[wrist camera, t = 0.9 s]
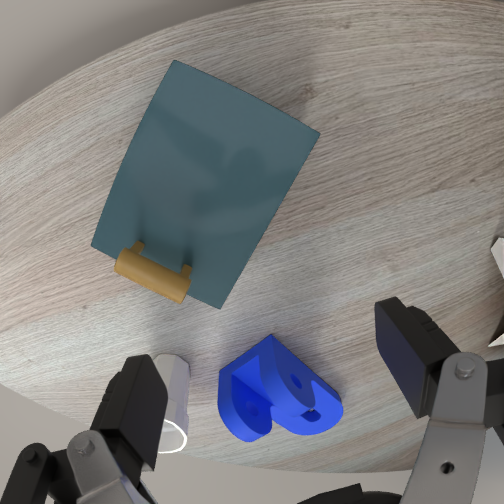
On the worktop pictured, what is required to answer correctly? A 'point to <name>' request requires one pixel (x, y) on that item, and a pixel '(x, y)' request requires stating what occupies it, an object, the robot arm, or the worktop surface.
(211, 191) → the lid
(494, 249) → the white tilted panel stand
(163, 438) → the cup
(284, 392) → the bracket
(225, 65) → the worktop surface
